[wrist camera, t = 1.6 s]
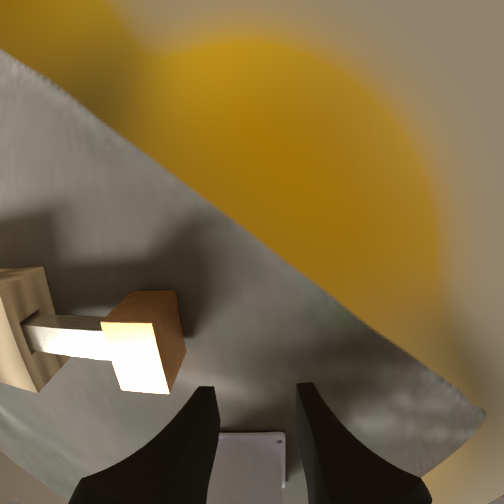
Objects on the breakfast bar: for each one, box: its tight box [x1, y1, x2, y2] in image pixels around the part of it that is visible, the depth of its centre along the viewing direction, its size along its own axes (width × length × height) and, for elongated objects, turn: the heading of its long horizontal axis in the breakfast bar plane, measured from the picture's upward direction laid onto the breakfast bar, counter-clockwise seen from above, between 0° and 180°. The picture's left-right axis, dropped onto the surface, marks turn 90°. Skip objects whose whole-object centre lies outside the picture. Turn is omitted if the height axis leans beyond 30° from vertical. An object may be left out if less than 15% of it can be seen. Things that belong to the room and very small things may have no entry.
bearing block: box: [0, 267, 70, 393], centre depth 18 cm, size 9×8×5 cm
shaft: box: [20, 290, 186, 394], centre depth 17 cm, size 16×4×4 cm, turn 94°
